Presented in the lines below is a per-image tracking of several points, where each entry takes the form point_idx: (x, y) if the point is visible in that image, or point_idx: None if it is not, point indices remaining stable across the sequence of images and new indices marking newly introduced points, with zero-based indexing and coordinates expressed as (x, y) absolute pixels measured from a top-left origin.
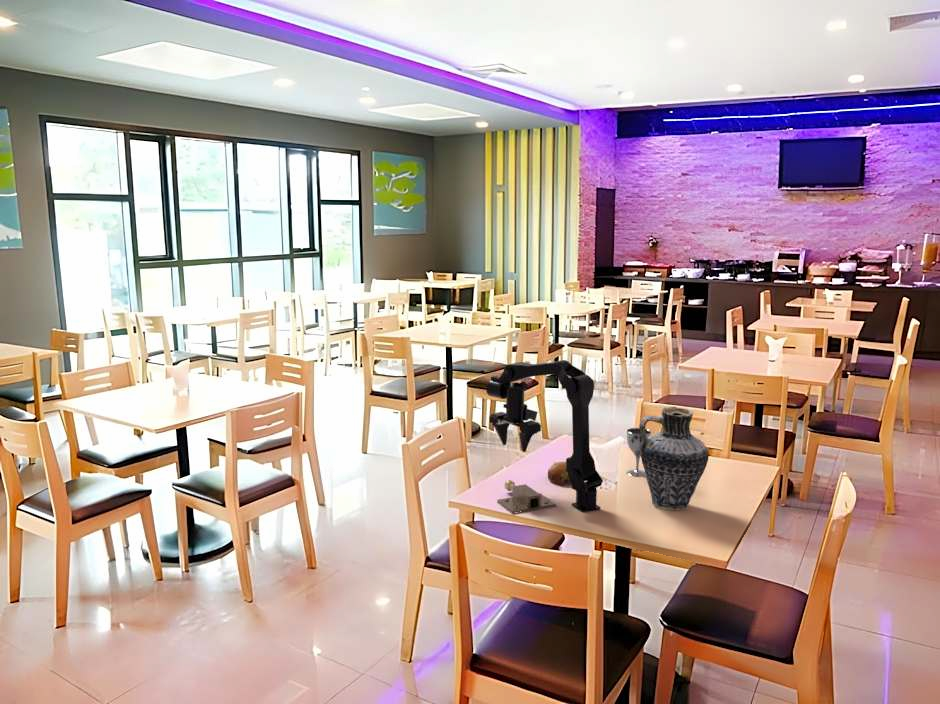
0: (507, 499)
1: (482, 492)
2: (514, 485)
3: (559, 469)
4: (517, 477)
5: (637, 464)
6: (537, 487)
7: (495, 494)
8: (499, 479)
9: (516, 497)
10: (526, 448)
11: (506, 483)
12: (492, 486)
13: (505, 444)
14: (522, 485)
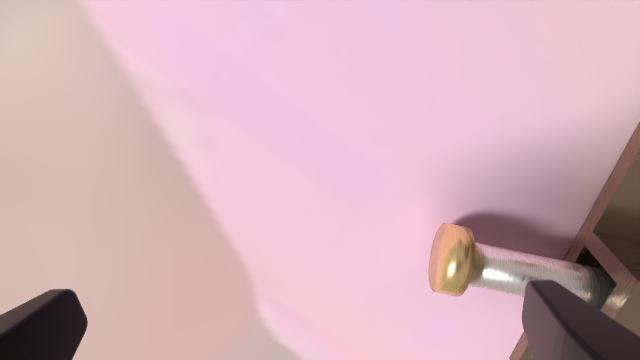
0: None
1: (348, 331)
2: (520, 283)
3: None
4: (232, 5)
5: None
6: (506, 18)
7: (414, 305)
8: (212, 143)
9: None
10: (600, 317)
11: (448, 294)
12: (300, 247)
13: (73, 303)
14: (635, 309)
